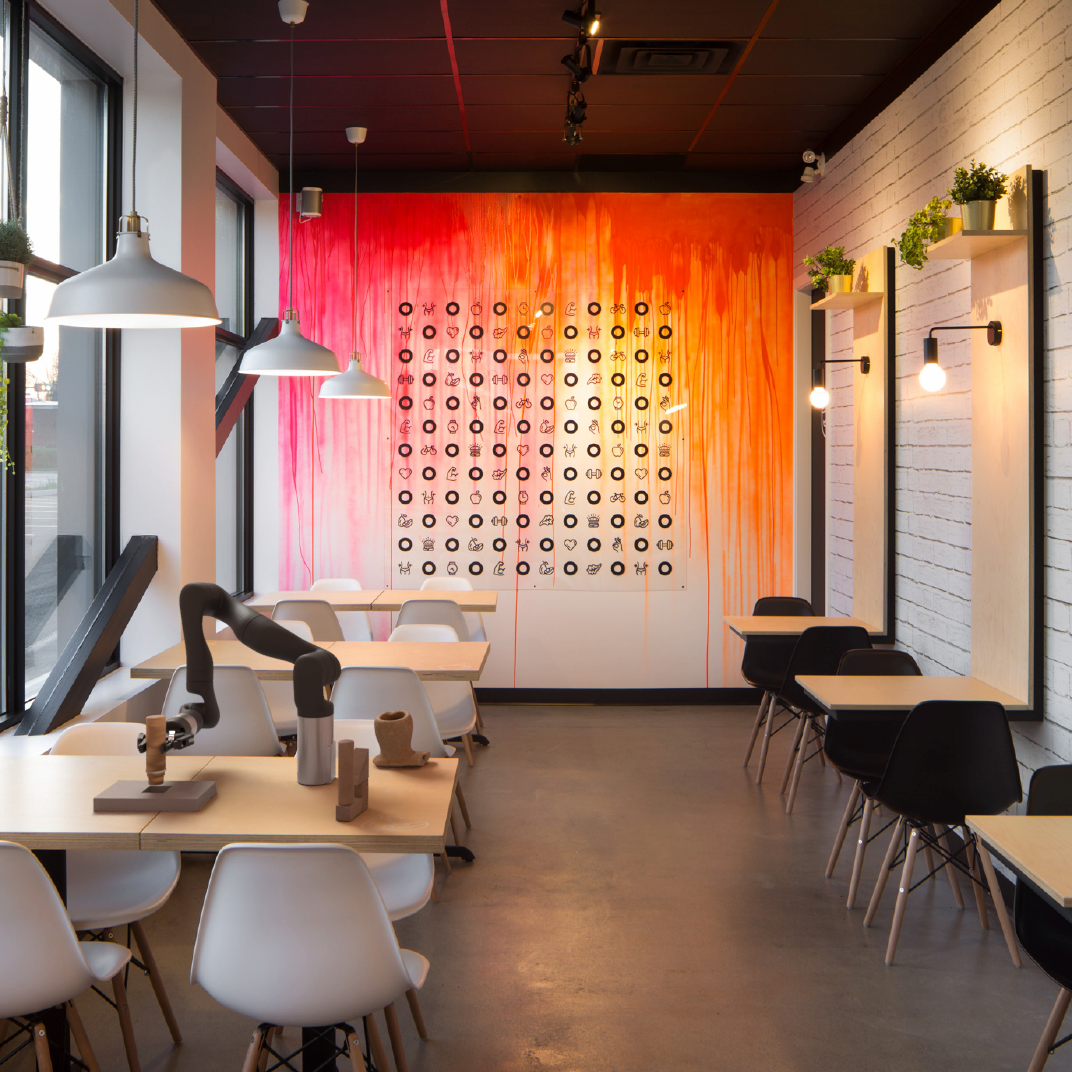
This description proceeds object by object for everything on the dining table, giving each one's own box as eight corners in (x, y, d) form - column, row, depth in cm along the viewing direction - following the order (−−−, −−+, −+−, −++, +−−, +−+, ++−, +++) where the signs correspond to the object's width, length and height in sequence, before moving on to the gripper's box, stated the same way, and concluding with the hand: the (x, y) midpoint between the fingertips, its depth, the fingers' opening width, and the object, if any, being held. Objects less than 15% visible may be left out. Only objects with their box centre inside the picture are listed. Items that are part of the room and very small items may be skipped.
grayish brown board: (216, 793, 238) (216, 781, 238) (197, 811, 224) (197, 798, 224) (118, 792, 238) (118, 780, 238) (93, 811, 224) (93, 798, 224)
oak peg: (169, 780, 233) (169, 715, 233) (162, 786, 229) (162, 719, 228) (150, 780, 233) (149, 714, 232) (142, 786, 229) (142, 719, 228)
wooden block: (369, 807, 229) (369, 732, 228) (350, 822, 218) (350, 743, 217) (354, 806, 229) (354, 731, 229) (335, 821, 219) (335, 742, 218)
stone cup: (367, 771, 258) (367, 715, 258) (377, 759, 270) (377, 706, 270) (423, 773, 257) (424, 717, 257) (431, 760, 269) (431, 707, 269)
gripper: (149, 715, 245) (121, 733, 227) (205, 716, 245) (182, 734, 228) (149, 745, 245) (121, 764, 228) (205, 746, 245) (182, 765, 228)
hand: (151, 749), depth 228 cm, fingers closed on oak peg, 4 cm apart
